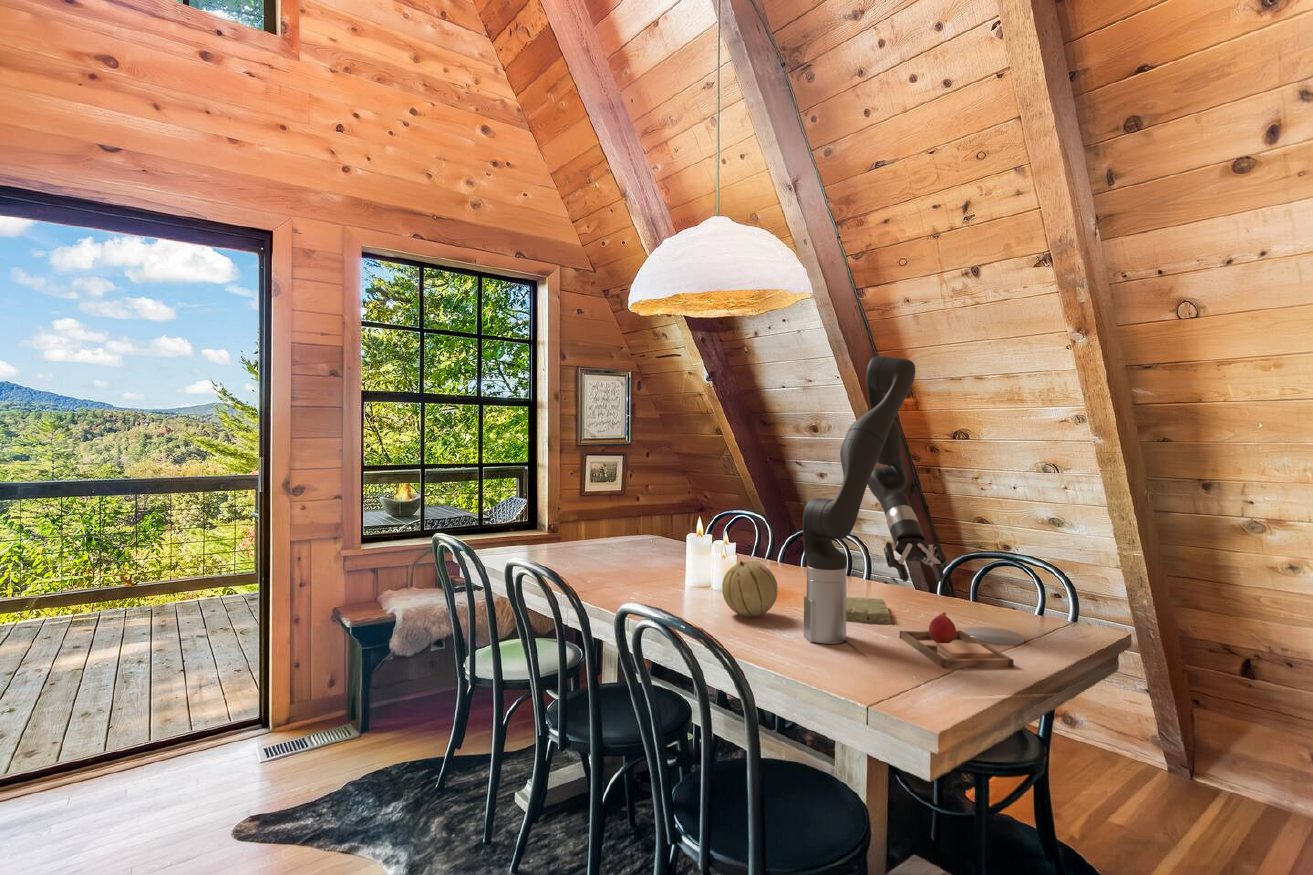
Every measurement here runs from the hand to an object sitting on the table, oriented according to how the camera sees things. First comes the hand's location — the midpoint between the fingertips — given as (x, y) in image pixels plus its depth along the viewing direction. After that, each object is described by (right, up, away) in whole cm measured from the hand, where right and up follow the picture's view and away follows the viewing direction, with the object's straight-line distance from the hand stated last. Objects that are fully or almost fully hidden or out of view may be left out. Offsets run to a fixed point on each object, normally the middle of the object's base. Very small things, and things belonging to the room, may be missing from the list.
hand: (923, 579), depth 170 cm
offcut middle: (+1, -13, -20) cm, 24 cm away
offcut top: (+1, -12, -20) cm, 24 cm away
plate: (+16, -13, -3) cm, 21 cm away
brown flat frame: (+1, -13, -15) cm, 20 cm away
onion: (+1, -14, -10) cm, 17 cm away
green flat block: (-12, -14, +20) cm, 28 cm away
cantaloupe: (-40, -13, +17) cm, 46 cm away
